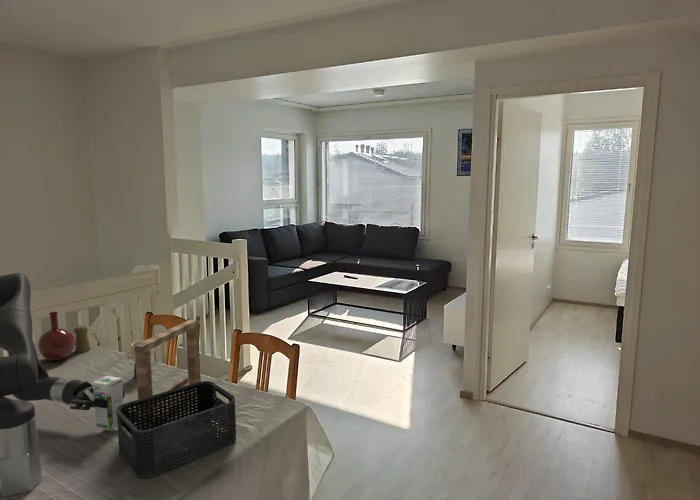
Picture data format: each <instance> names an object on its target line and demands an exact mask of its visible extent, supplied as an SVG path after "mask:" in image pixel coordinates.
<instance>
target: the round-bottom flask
mask: <svg viewBox="0 0 700 500" xmlns="http://www.w3.org/2000/svg"><path fill="white" fill-rule="evenodd" d="M48 314H49V319H50V320H49V321H50V329H48V330H46V331H45V332H44V333H42V334H41V336H40V337H39V339H38V341H37V351H38V354H39V355H41V357H43V358H44V359H45V360H49V361H61V360H63V359H65V358H67V357H68V356H70V354H71V353H72V352H73V351H74V350H75V344H76V339H75V336H74V335H73V334H72V332H71V331H70V330H68V329H65V328H63V327H59V319H58V318H59V317H58V314H59V312H58V311H51V312H49V313H48Z"/></svg>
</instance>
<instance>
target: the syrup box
mask: <svg viewBox="0 0 700 500" xmlns="http://www.w3.org/2000/svg"><path fill="white" fill-rule="evenodd" d="M92 384H93V385H92V386H93V387H94V397H95V398H96V399H102V400H107V401H108V407H107V408H100V407H95V408H94V412H95V414H94V415H95V428H96V429H100V430H106V431H110V432H112V431H113V430H114V429H117V428H118V424H117V411H116V410H117V408H118V407H119V406H121V405H123V404H124V398H123V391H124V390H123V378H122V377H116V376H110V375H105V376H103V377H100V378H99V379H97V380H95V381H93V383H92Z"/></svg>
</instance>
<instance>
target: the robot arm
mask: <svg viewBox="0 0 700 500" xmlns="http://www.w3.org/2000/svg"><path fill="white" fill-rule="evenodd" d="M31 290H32V289H31V284H30V280H29V278H28V276H26V274H24V273H21V272H15V273H10V274H4V275H3V274H2V275H0V348H1V349H2V350H4V351H5V352H7V354H8V355H6V356H3V357H2V356H1V357H0V494H1V497H2V498H7V497H10V496H15V495H19V494H23V493H27V492H30V491H33V490H34V488H35V487H36V486H37V485H39V484H40V482H41V481H42V479H43V473H42V464H41V456H40V446H39V437H38V427H37V420H36V419H37V418H36V409H35V406H34V404H33V403H32V402H34V401H44V400H47V401H50V402H51V401H52V402H56V403H59V404H61V405H62V404H63V405H69V407H70V410H80V411H81V410H82V411H89V410H91V409H95V407H100V408H107V407H108V401H107V400H102V399H96V398H95V397H94V387H93V385H92V384H91V383H90V382H89V381H86V380H80V379H75V378H66V377H65V378H64V377H56V376H50V375H49V373H48V372H47V370H46V369H45V367H44V365H43V364H42V363H41V361H40V359H39V357H38V353H37V348H36V346H35V342H34V339H33V337H34V334H33V333H34V331H33V329H34V327H33V316H32V313H31V294H32V291H31ZM11 395H12V396H13V397H14V398H16V399H14V398H13V399H12V398H9V397H6V396H11ZM124 398H125V391H124V390H123V399H124Z"/></svg>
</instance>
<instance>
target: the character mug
mask: <svg viewBox="0 0 700 500" xmlns="http://www.w3.org/2000/svg"><path fill="white" fill-rule="evenodd" d="M143 341H144V340H138V341H135V342H132V343H131V344H130V350H128V351H126V361H127V360H132V362H134V371H133V376H134V377H135V378H137V375H136V361H135V347H134V346H135V345H137V344H139V343H141V342H143ZM156 348H157V346H156V347H154V348H152V349H153V350H152V349H150V360H151V359H152V357H153V354H156V352H157V350H156ZM130 354H131V355H130ZM152 374H153V372H152V370H151V375H152Z"/></svg>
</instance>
